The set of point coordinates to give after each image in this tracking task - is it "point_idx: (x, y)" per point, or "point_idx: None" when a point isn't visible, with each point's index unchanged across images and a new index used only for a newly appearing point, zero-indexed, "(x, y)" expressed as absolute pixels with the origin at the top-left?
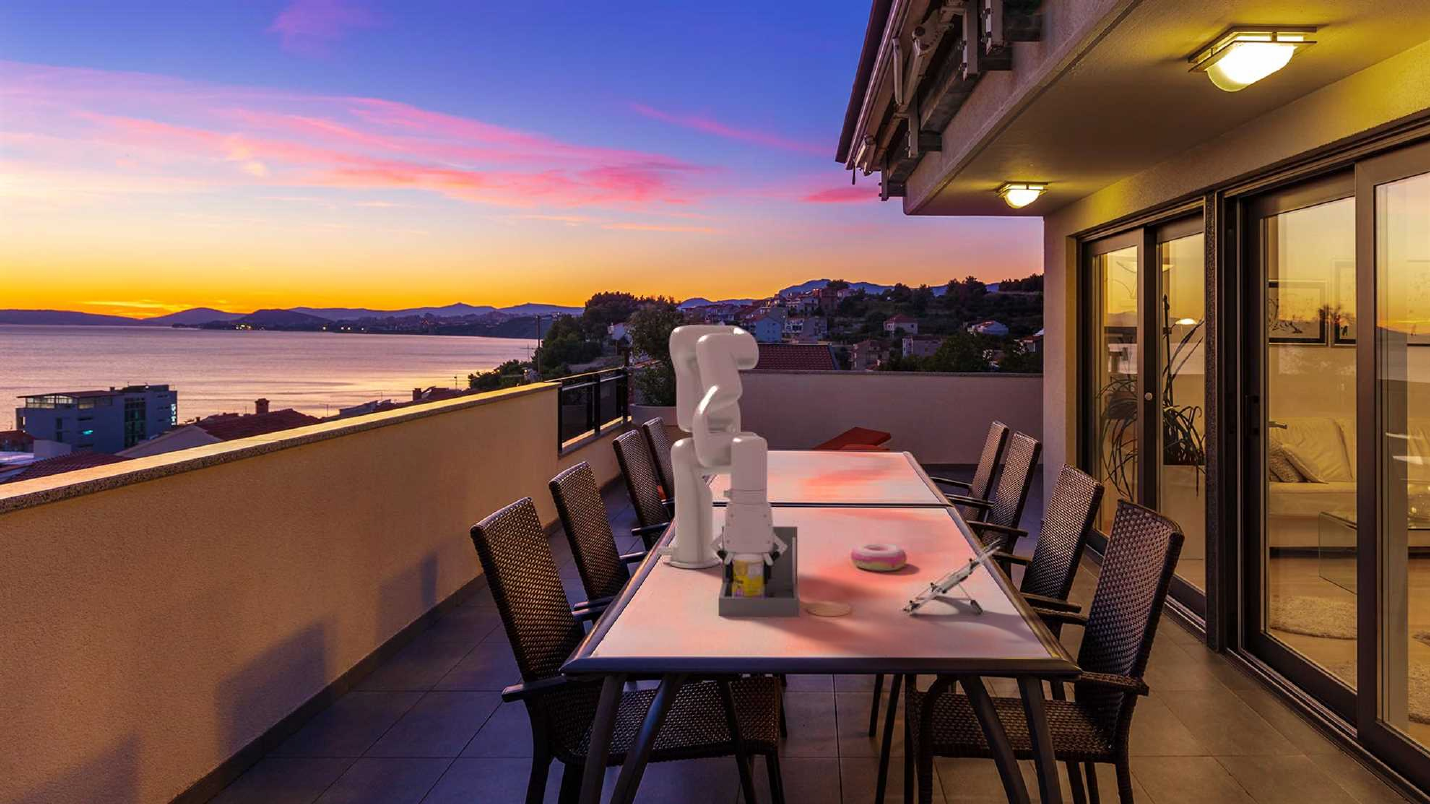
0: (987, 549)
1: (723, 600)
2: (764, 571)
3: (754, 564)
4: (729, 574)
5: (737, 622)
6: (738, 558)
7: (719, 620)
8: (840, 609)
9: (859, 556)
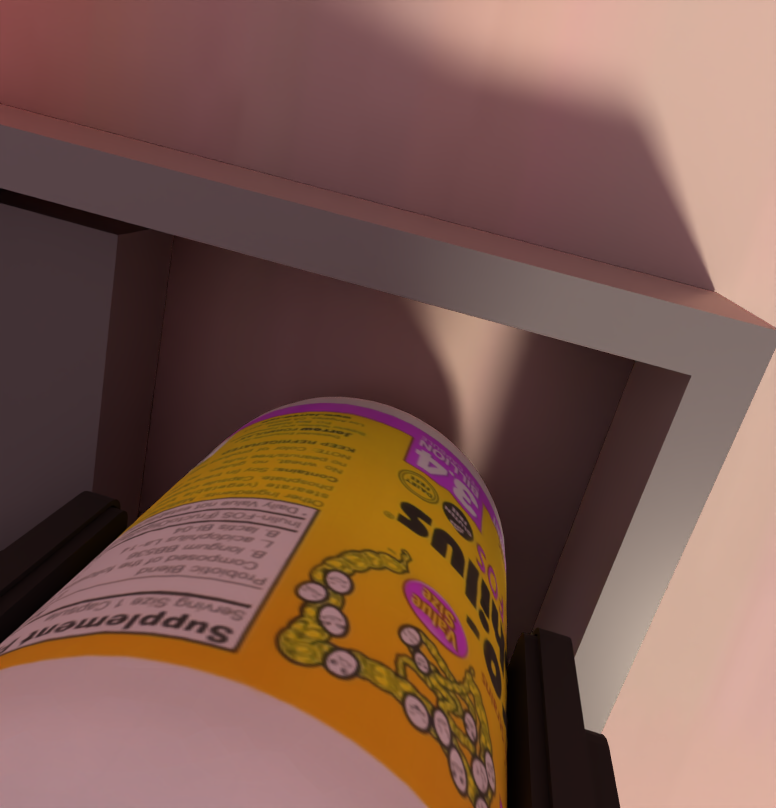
0: None
1: (709, 309)
2: (25, 594)
3: (110, 623)
4: (571, 715)
5: (590, 12)
6: None
7: (763, 123)
8: None
9: None
